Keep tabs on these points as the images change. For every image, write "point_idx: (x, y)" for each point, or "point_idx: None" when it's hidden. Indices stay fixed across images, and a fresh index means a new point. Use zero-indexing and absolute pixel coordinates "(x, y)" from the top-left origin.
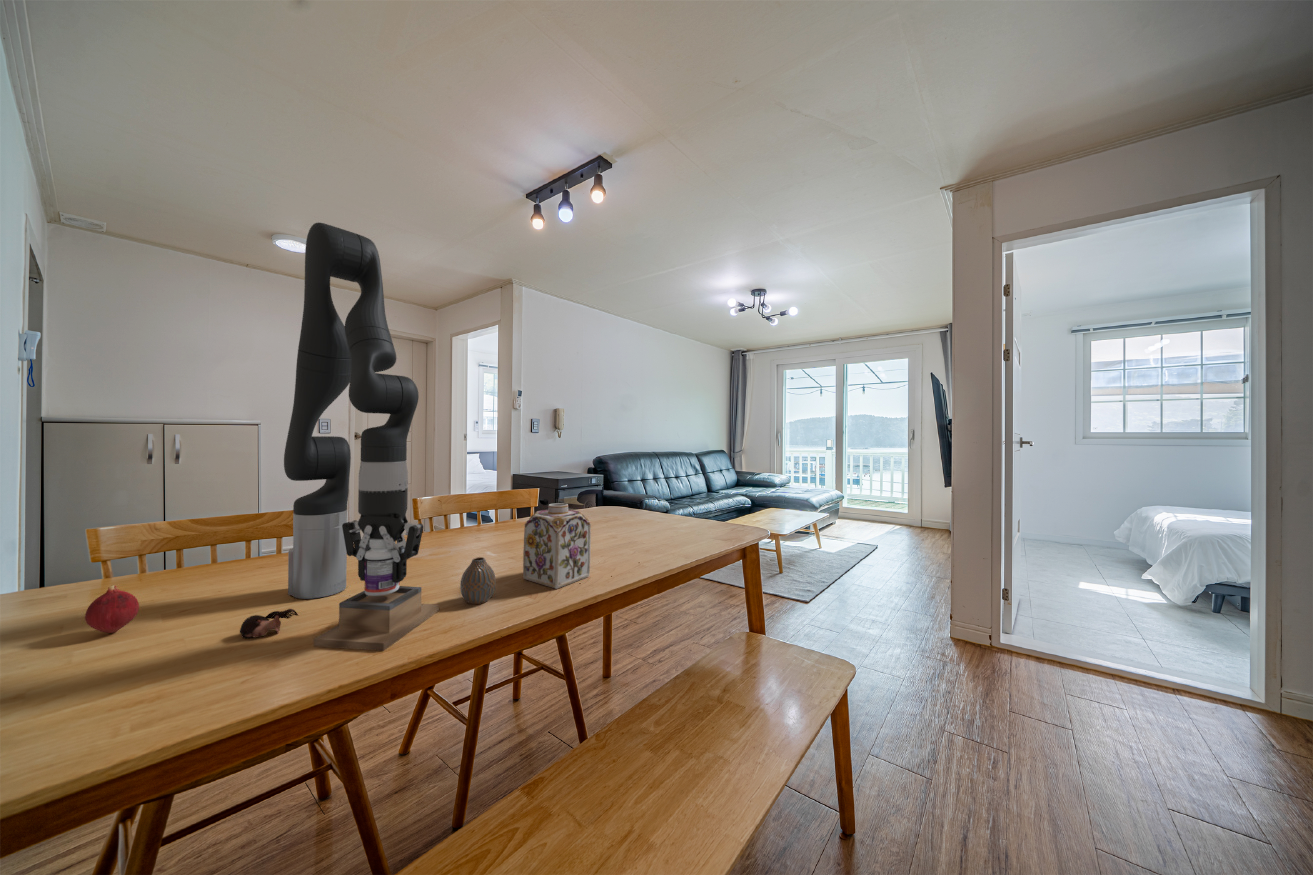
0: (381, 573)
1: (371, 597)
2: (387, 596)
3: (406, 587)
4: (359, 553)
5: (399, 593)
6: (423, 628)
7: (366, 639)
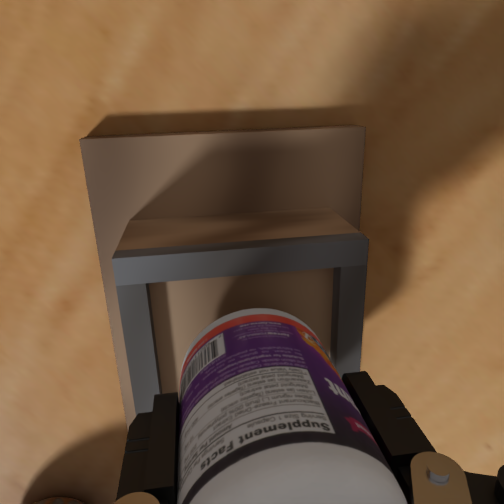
0: (219, 393)
1: None
2: None
3: None
4: (451, 493)
5: None
6: (81, 312)
7: (171, 156)
